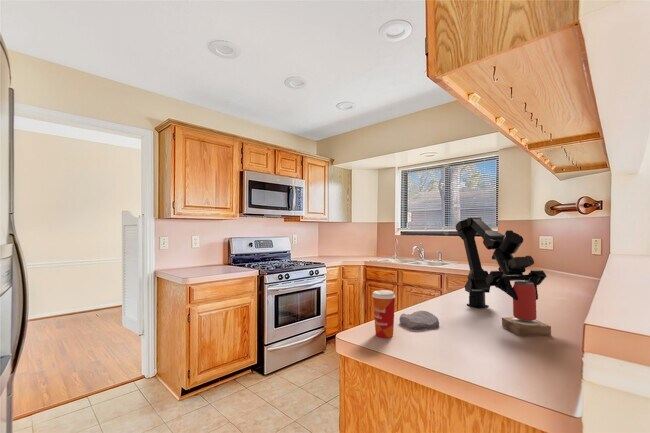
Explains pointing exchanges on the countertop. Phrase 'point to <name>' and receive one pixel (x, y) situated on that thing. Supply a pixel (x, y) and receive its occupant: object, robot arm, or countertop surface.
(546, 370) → the countertop surface
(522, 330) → the walnut pedestal
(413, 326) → the stone block
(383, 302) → the paper cup
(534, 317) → the beer can
